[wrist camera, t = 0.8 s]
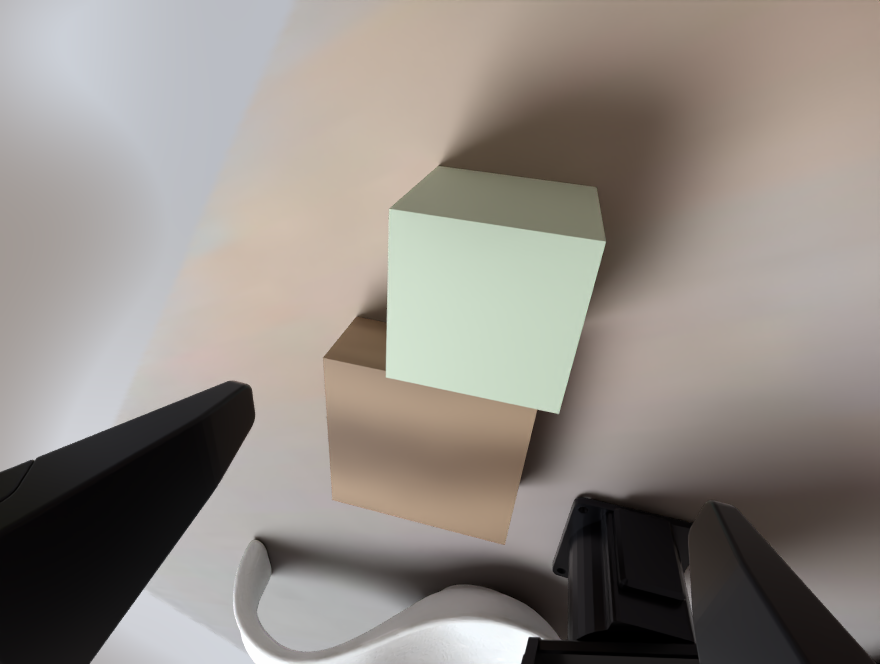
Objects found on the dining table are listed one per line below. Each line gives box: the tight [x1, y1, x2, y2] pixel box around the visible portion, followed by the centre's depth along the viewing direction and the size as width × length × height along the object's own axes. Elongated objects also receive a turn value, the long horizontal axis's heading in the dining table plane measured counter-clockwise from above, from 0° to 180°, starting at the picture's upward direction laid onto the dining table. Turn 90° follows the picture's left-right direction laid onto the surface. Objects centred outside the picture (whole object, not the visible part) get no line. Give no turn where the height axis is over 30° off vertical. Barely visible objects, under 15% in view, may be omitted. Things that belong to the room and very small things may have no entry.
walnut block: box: [323, 317, 537, 545], centre depth 23 cm, size 9×9×4 cm
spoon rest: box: [233, 540, 561, 664], centre depth 31 cm, size 24×12×7 cm, turn 89°
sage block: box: [386, 166, 606, 414], centre depth 17 cm, size 6×6×6 cm
